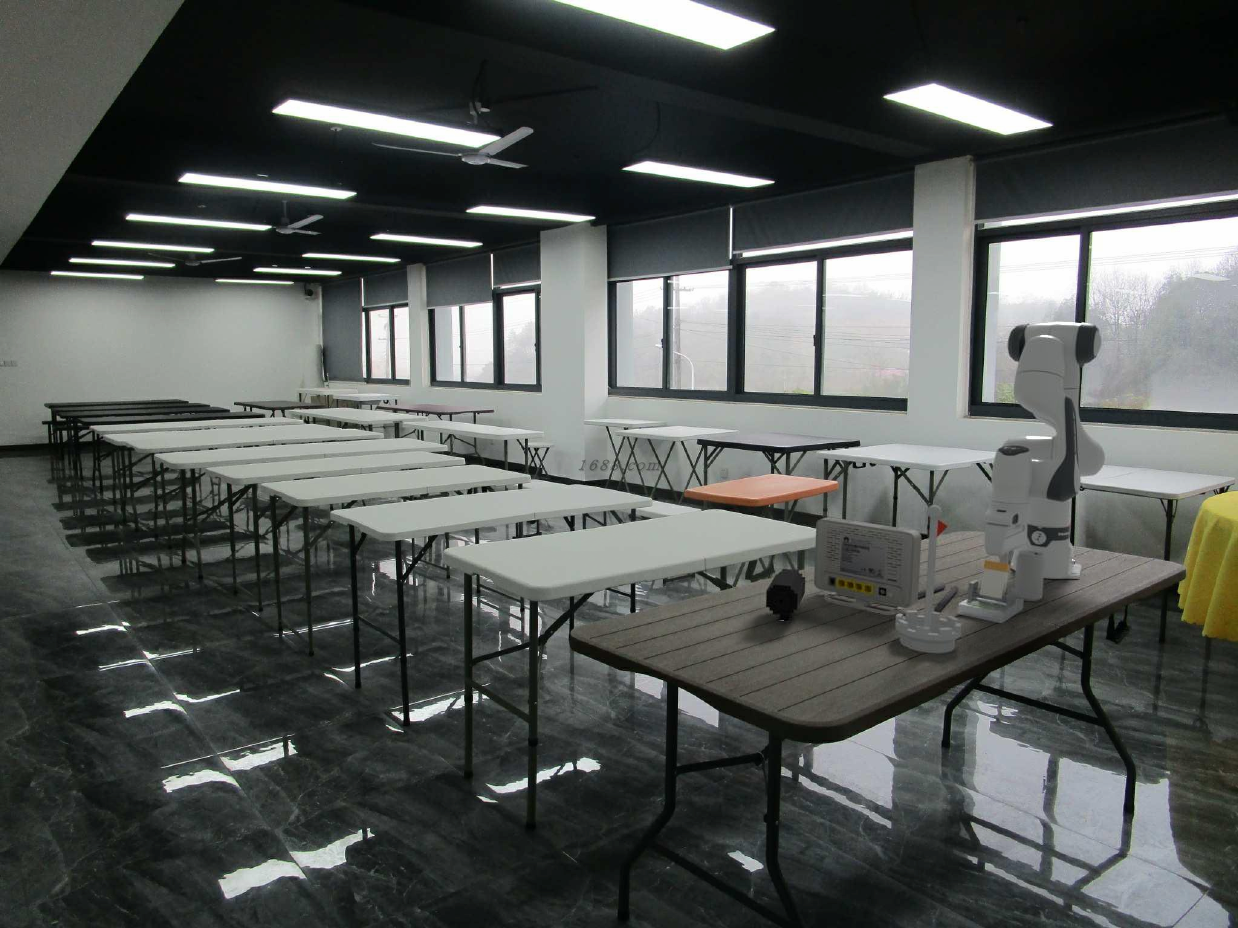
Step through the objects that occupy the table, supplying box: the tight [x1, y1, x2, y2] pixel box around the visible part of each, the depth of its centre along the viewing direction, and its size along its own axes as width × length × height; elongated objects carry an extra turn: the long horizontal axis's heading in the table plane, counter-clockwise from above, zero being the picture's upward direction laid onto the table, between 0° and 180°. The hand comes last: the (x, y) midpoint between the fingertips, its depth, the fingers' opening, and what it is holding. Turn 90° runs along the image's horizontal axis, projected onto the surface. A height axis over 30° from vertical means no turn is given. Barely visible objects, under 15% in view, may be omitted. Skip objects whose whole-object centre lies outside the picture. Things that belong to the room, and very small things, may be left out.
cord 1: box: [918, 582, 946, 599], centre depth 210 cm, size 19×1×1 cm, turn 132°
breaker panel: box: [957, 579, 1025, 624], centre depth 196 cm, size 15×10×6 cm, turn 137°
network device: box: [813, 516, 922, 616], centre depth 200 cm, size 26×9×20 cm, turn 47°
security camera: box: [765, 568, 806, 622], centre depth 190 cm, size 7×18×10 cm, turn 161°
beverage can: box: [1014, 550, 1045, 602], centre depth 207 cm, size 6×6×12 cm
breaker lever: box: [975, 559, 1011, 603], centre depth 196 cm, size 2×7×9 cm, turn 48°
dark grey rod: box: [933, 585, 959, 613], centre depth 204 cm, size 23×1×1 cm, turn 147°
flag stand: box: [894, 504, 962, 654], centre depth 172 cm, size 13×13×30 cm
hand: (1005, 567), depth 201 cm, fingers closed
